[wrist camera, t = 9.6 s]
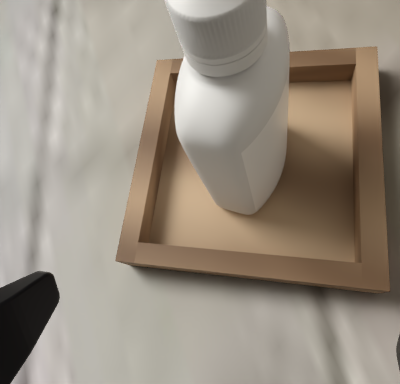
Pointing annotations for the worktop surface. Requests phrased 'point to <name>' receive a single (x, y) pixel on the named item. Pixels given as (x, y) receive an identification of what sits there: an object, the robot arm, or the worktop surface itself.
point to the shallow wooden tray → (284, 191)
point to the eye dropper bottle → (233, 97)
